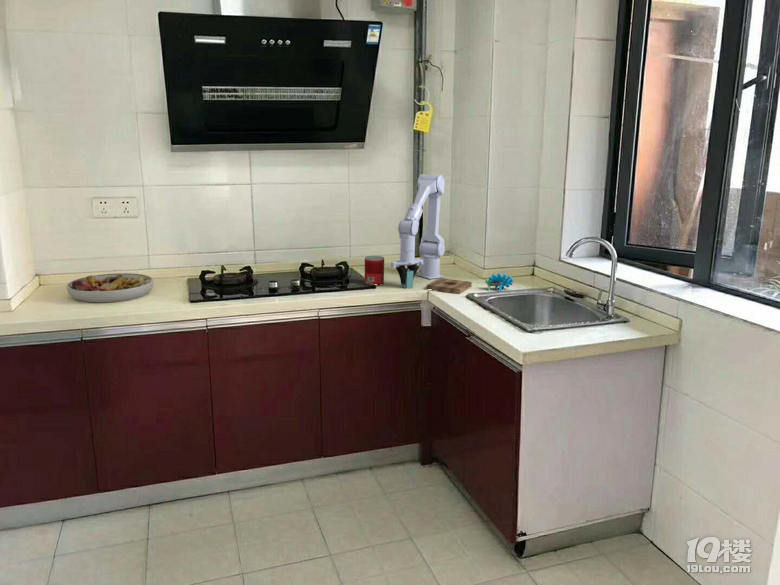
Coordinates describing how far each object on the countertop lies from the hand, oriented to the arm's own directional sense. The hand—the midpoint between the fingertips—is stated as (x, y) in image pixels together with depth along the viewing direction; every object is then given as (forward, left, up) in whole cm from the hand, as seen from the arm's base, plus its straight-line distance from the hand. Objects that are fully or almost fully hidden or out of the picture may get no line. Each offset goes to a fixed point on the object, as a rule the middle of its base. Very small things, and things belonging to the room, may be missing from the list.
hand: (406, 283), depth 260 cm
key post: (0, 0, -2) cm, 2 cm away
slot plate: (+10, +14, -2) cm, 17 cm away
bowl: (-47, -103, -2) cm, 113 cm away
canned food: (-12, -8, -2) cm, 15 cm away
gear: (+22, +30, -2) cm, 37 cm away
